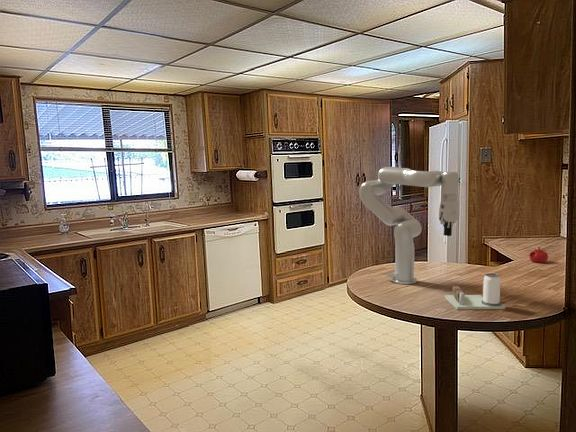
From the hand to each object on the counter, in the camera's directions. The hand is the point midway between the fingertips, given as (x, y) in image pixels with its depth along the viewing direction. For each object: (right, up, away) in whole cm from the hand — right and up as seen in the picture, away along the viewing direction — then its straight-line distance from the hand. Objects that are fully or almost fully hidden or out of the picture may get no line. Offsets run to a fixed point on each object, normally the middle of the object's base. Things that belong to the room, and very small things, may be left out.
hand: (447, 235), depth 211 cm
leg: (-1, -27, -17) cm, 32 cm away
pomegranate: (+74, -19, +53) cm, 93 cm away
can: (+10, -28, -23) cm, 38 cm away
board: (+5, -29, -19) cm, 35 cm away
